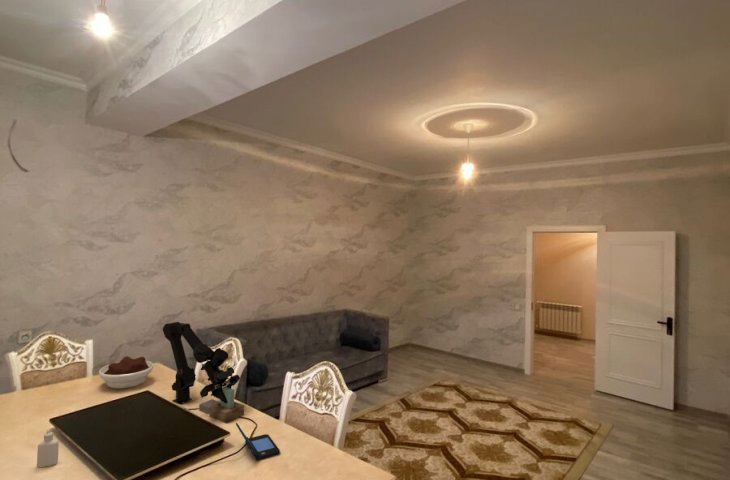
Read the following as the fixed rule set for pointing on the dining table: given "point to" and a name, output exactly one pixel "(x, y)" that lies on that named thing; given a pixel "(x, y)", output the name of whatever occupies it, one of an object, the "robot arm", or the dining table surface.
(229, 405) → the block
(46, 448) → the eye dropper bottle
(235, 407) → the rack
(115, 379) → the bowl of chocolate mousse
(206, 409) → the plate
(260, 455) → the handheld game console
